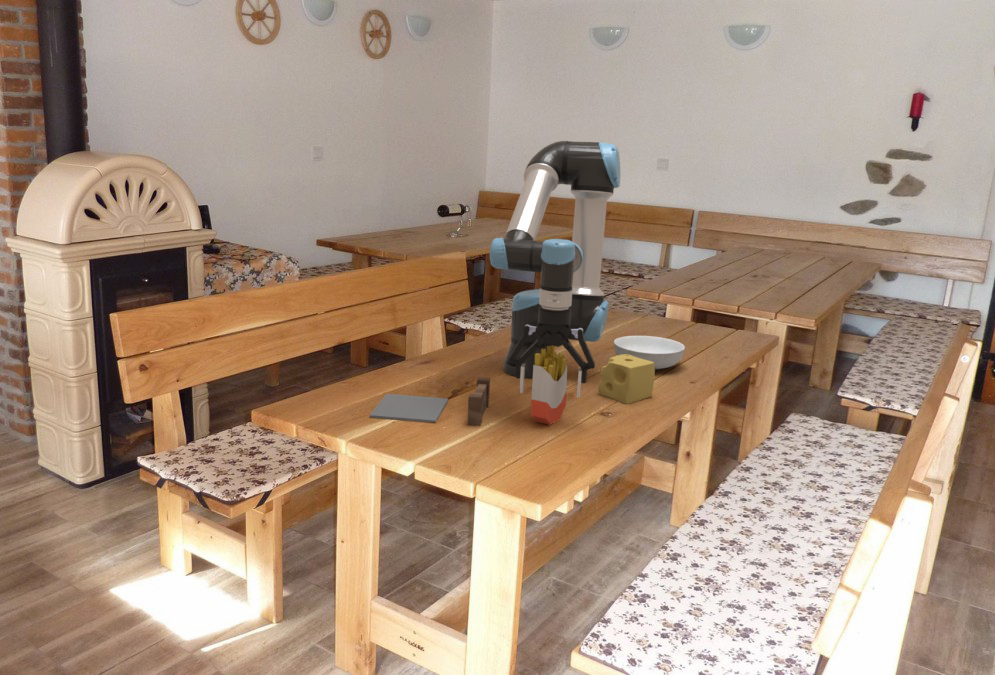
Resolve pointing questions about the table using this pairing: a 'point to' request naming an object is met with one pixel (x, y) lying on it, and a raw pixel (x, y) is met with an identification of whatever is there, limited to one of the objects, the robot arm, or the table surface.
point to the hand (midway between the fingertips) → (550, 393)
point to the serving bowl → (651, 349)
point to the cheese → (627, 378)
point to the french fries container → (548, 386)
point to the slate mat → (409, 408)
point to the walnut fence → (478, 401)
